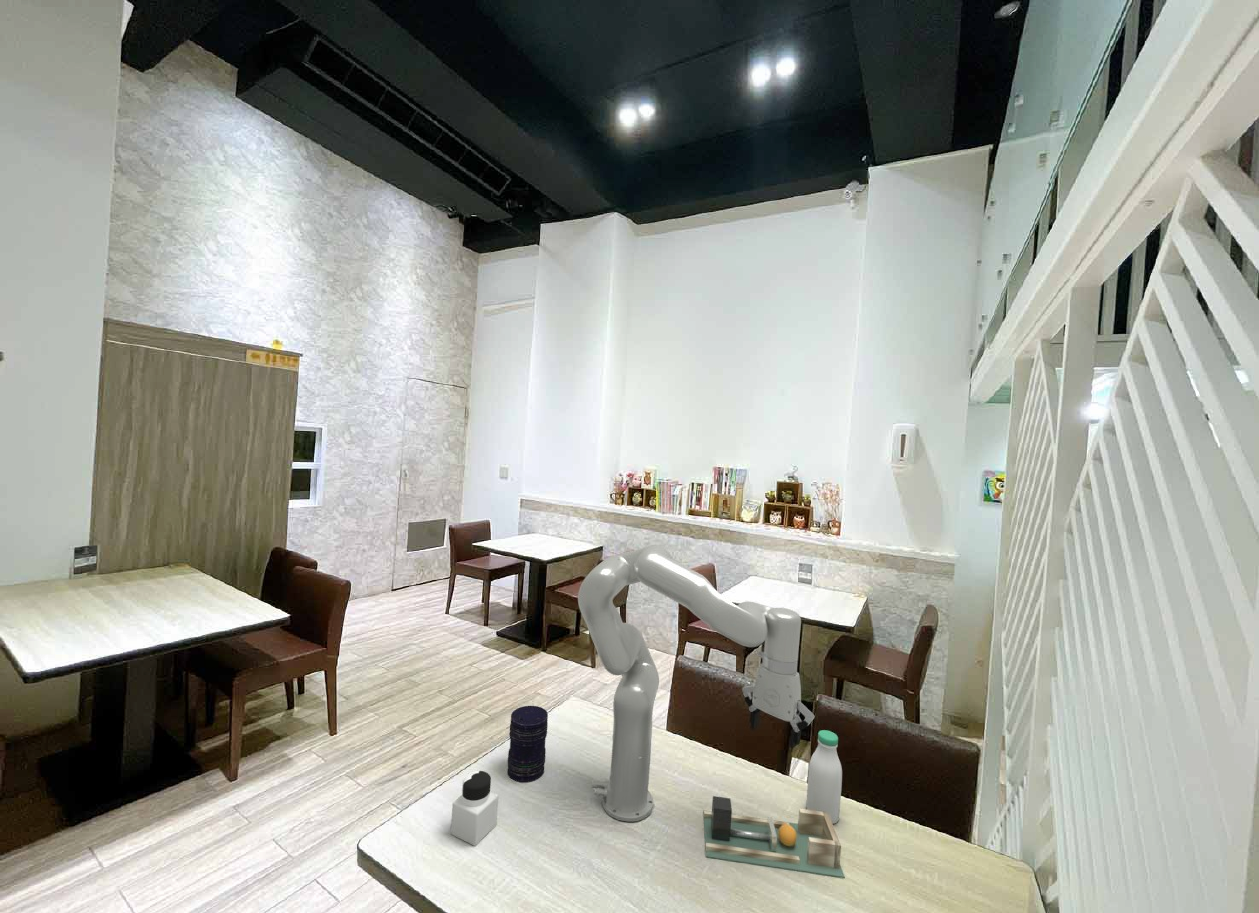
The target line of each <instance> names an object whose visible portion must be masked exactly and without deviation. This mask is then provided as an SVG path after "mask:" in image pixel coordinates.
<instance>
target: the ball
mask: <svg viewBox="0 0 1259 913" xmlns="http://www.w3.org/2000/svg"><path fill="white" fill-rule="evenodd" d="M778 835H779V839H780V841H781V842H782V843H783V844H784V845H786V846H792V845H794V844H795V843H796V840H797V834H796V831H795V829H794V828H793V827H792V826H790V825H788V824H784V825H782V826H781V827H780V828H779V831H778Z"/></svg>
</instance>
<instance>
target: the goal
mask: <svg viewBox="0 0 1259 913" xmlns="http://www.w3.org/2000/svg"><path fill="white" fill-rule="evenodd" d="M798 810H799V811H798V822H797V824H798V832H799V833H800V834H807V835H814V836H821V837H823V839H818V838H811V837H809V839H808V852H807V862H808V864H811V865H817V866H824V867H831V868H838V869H839V868H840V866H841V854H842V853H841V852H842V851H841V850H842V844H841V842H840V840H839V837H838V835H837V832H836V830H835V827H834V824H832V822H831V819H830V817H829V814H828V813H827V812H820V811H813V810H806V808H805V809H803V808H799V809H798Z"/></svg>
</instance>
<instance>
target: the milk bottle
mask: <svg viewBox="0 0 1259 913" xmlns="http://www.w3.org/2000/svg"><path fill="white" fill-rule="evenodd" d="M838 744H839V737H838V735H837V733H834V732H832V731H831V730H825V729H823V730H819V731H818V733H817V747H816V748H815V751H814V752H813V754H812V755H811V757H810V761H809V766H808V776H807V788H806V789H807V790H806V800H805V802H806V803H805V810H813V811H820V812H827V813H828V814H829V817H830V819H831V822H832V824H833V825H834V824H837V823H838V821H839V819H840V812H841V811H840V810H841V796H842V787H843V786H842V785H843V784H842V783H843V769H842V763H841V761H840V759H839V756H838V752H837V748H838Z"/></svg>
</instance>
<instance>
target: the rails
mask: <svg viewBox="0 0 1259 913" xmlns="http://www.w3.org/2000/svg"><path fill="white" fill-rule="evenodd" d="M710 811H711V810H705V811H704V816H703V819H704V818H709V819H711V815H712V812H710ZM738 815H739V814H733V815H732V816H731V822H737V823H744V824H751V825H758V826H765V827H767V819H768V818H761V819H760V817H754V816H747V817H746V815H740V816H738ZM753 817H754V818H753ZM788 822H789V821H783V822H781V821H780V820H776V821H774V819H773V823H774V827H775V828H780V827H781V826H782V825H784V824H788V825H789V823H788ZM706 851H711V852H718V853H725V854H732V855H738V856H745V857H752V858H758V859H765V860H772V861H778V862H785V863H792V864H799V862H800V860H799V856H793V855H786V854H779V853H773V852H766V851H759V850H752V849H746V848H739V847H732V846H725V845H718V844H712V843H706V850H705V852H706Z"/></svg>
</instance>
